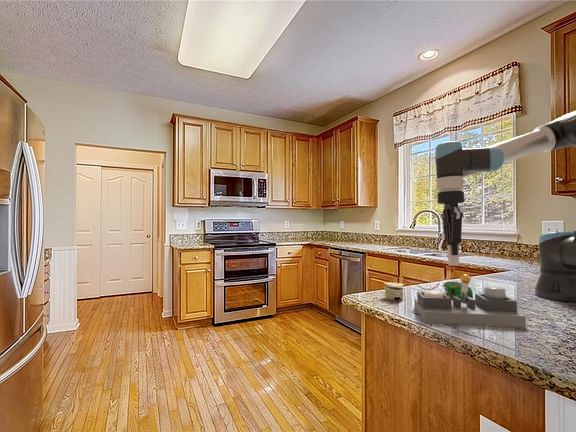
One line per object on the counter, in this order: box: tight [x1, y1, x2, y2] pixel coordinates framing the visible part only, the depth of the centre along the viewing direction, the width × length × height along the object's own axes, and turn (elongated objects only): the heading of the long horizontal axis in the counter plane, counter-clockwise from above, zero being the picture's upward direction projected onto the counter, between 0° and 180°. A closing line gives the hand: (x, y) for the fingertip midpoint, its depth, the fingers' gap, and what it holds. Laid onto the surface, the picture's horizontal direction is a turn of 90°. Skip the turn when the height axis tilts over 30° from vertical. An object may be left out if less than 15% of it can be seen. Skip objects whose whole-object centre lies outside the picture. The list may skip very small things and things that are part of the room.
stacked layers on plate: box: [383, 281, 405, 301], centre depth 107 cm, size 10×9×6 cm
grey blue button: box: [483, 285, 507, 300], centre depth 84 cm, size 5×5×3 cm
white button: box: [423, 290, 444, 298], centre depth 87 cm, size 5×5×3 cm
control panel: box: [413, 291, 527, 329], centre depth 86 cm, size 24×14×6 cm, turn 78°
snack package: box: [442, 281, 474, 300], centre depth 108 cm, size 7×16×5 cm, turn 164°
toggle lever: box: [459, 273, 472, 304], centre depth 84 cm, size 3×3×8 cm
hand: (453, 265), depth 95 cm, fingers closed
